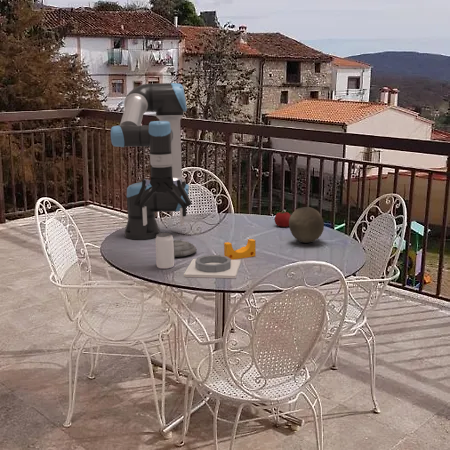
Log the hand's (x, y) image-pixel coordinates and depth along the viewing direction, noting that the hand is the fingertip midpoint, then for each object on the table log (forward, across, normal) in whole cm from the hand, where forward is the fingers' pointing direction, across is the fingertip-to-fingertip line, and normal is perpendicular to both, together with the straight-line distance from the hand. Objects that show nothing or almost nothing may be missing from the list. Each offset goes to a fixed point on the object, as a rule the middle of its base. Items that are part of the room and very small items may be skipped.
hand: (163, 225), depth 210 cm
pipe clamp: (+16, +25, +14) cm, 33 cm away
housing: (+16, +18, -2) cm, 24 cm away
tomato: (+15, +41, +64) cm, 77 cm away
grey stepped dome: (+16, +1, +18) cm, 24 cm away
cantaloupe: (+16, +51, +36) cm, 64 cm away
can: (+16, 0, 0) cm, 16 cm away
